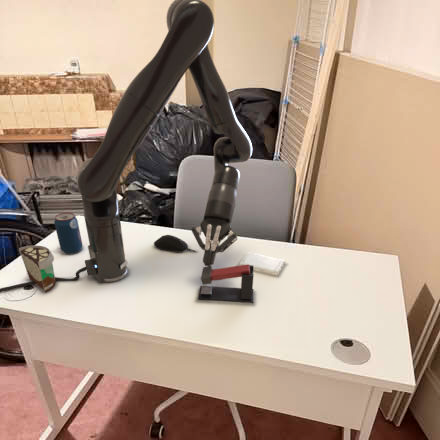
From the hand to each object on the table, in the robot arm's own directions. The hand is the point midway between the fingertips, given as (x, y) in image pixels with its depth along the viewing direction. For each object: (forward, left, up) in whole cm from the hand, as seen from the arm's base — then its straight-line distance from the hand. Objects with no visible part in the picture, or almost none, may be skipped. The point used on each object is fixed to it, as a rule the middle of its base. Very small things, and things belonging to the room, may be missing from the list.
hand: (207, 265), depth 104 cm
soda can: (-23, +46, -10) cm, 53 cm away
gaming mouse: (+6, +29, -10) cm, 32 cm away
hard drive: (+23, +4, -10) cm, 26 cm away
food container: (-35, +31, -10) cm, 48 cm away
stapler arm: (+4, -3, -3) cm, 6 cm away
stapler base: (+4, -3, -10) cm, 11 cm away
